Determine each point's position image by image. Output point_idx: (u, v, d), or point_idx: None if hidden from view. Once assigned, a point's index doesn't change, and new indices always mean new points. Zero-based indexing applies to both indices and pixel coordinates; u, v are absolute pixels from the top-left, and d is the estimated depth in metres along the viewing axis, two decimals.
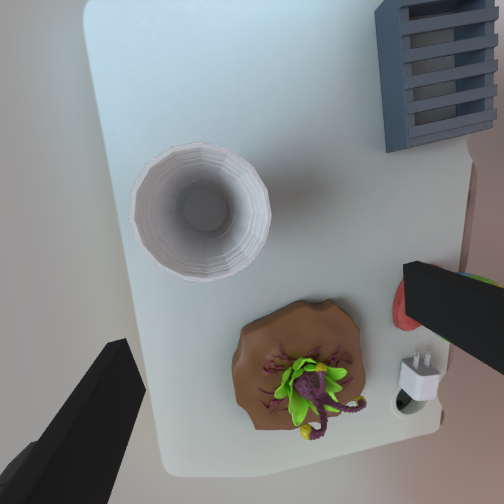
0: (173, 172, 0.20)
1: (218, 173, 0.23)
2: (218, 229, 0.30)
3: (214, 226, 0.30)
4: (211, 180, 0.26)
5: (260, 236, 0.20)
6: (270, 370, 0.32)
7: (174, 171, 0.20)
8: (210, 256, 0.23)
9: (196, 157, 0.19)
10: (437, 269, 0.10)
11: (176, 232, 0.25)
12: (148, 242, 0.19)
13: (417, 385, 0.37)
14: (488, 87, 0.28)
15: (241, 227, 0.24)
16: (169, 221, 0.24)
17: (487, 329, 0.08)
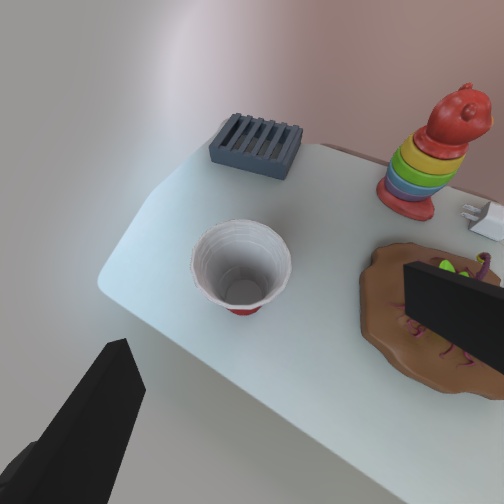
0: (205, 270, 0.28)
1: (225, 255, 0.31)
2: (263, 295, 0.35)
3: (259, 298, 0.35)
4: (227, 271, 0.34)
5: (276, 240, 0.28)
6: (419, 329, 0.30)
7: (205, 269, 0.28)
8: (272, 288, 0.28)
9: (207, 249, 0.28)
10: (437, 269, 0.10)
11: (242, 310, 0.29)
12: None
13: (498, 221, 0.37)
14: (280, 125, 0.50)
15: (267, 263, 0.31)
16: None
17: (486, 329, 0.08)
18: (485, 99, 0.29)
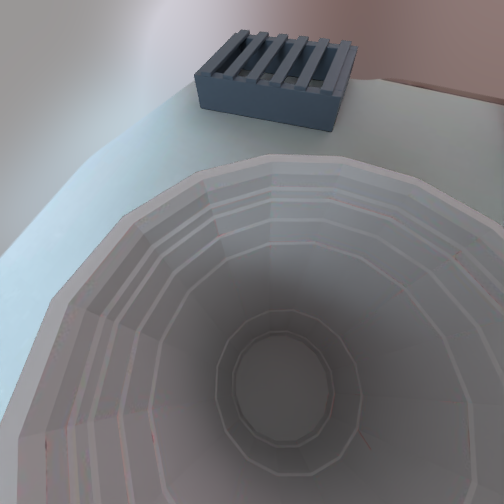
0: (153, 375, 0.06)
1: (235, 289, 0.10)
2: (333, 384, 0.13)
3: (321, 388, 0.14)
4: (239, 327, 0.12)
5: (470, 235, 0.06)
6: None
7: (153, 370, 0.07)
8: (454, 454, 0.06)
9: (162, 281, 0.07)
10: None
11: None
12: None
13: None
14: (319, 42, 0.29)
15: (374, 313, 0.09)
16: (266, 500, 0.08)
17: None
18: None
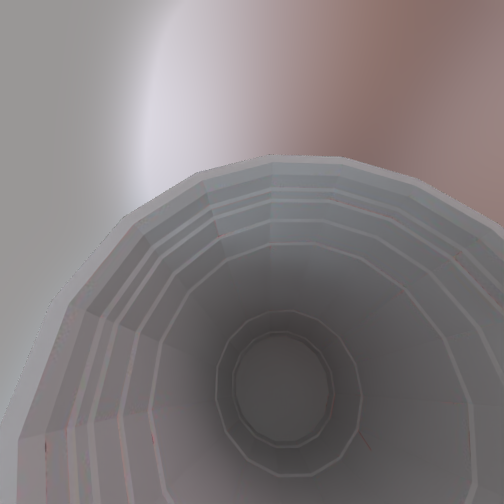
0: (153, 376, 0.06)
1: (235, 290, 0.10)
2: (333, 385, 0.13)
3: (321, 389, 0.14)
4: (239, 327, 0.12)
5: (471, 236, 0.06)
6: None
7: (153, 371, 0.07)
8: (455, 456, 0.06)
9: (162, 281, 0.07)
10: None
11: None
12: None
13: None
14: None
15: (374, 314, 0.09)
16: (266, 501, 0.08)
17: None
18: None
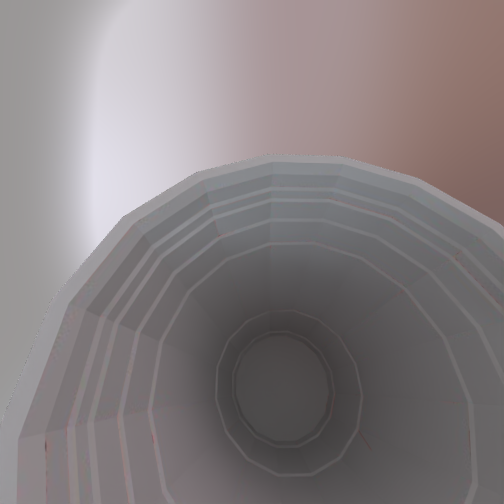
0: (153, 375, 0.06)
1: (235, 289, 0.10)
2: (333, 384, 0.13)
3: (321, 389, 0.14)
4: (239, 327, 0.12)
5: (471, 236, 0.06)
6: None
7: (153, 370, 0.07)
8: (455, 455, 0.06)
9: (162, 281, 0.07)
10: None
11: None
12: None
13: None
14: None
15: (374, 313, 0.09)
16: (266, 500, 0.08)
17: None
18: None
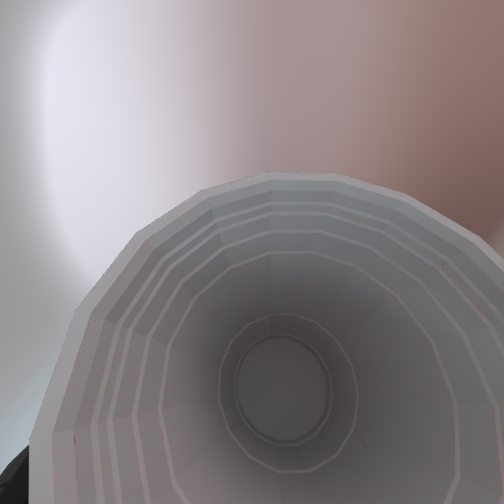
0: (162, 377, 0.07)
1: (237, 295, 0.10)
2: (331, 385, 0.14)
3: (319, 389, 0.14)
4: (241, 330, 0.13)
5: (455, 248, 0.07)
6: None
7: (162, 372, 0.07)
8: (441, 451, 0.07)
9: (170, 290, 0.07)
10: None
11: (304, 498, 0.08)
12: None
13: None
14: None
15: (369, 318, 0.10)
16: (266, 494, 0.08)
17: None
18: None
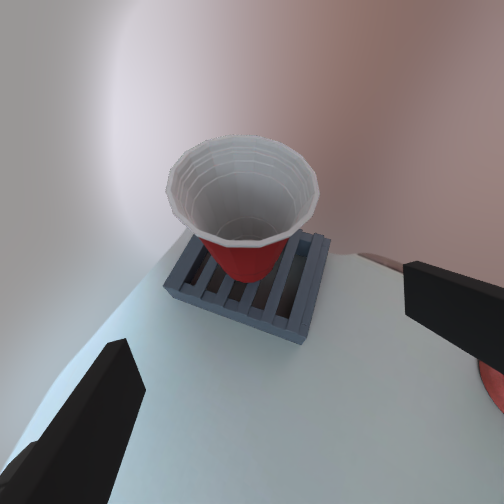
0: (192, 208, 0.19)
1: (222, 196, 0.23)
2: None
3: None
4: (225, 223, 0.25)
5: (294, 159, 0.19)
6: None
7: (192, 206, 0.19)
8: None
9: (194, 177, 0.20)
10: (437, 269, 0.10)
11: None
12: None
13: None
14: None
15: (280, 204, 0.22)
16: None
17: (486, 329, 0.08)
18: None
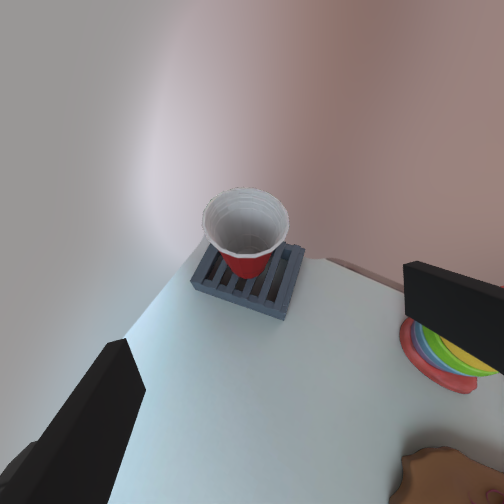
0: (214, 232, 0.32)
1: (231, 222, 0.35)
2: None
3: None
4: (232, 239, 0.38)
5: (276, 203, 0.32)
6: None
7: (214, 231, 0.32)
8: None
9: (215, 213, 0.32)
10: (437, 269, 0.10)
11: None
12: None
13: None
14: (278, 246, 0.41)
15: (268, 228, 0.35)
16: None
17: (487, 329, 0.08)
18: None
